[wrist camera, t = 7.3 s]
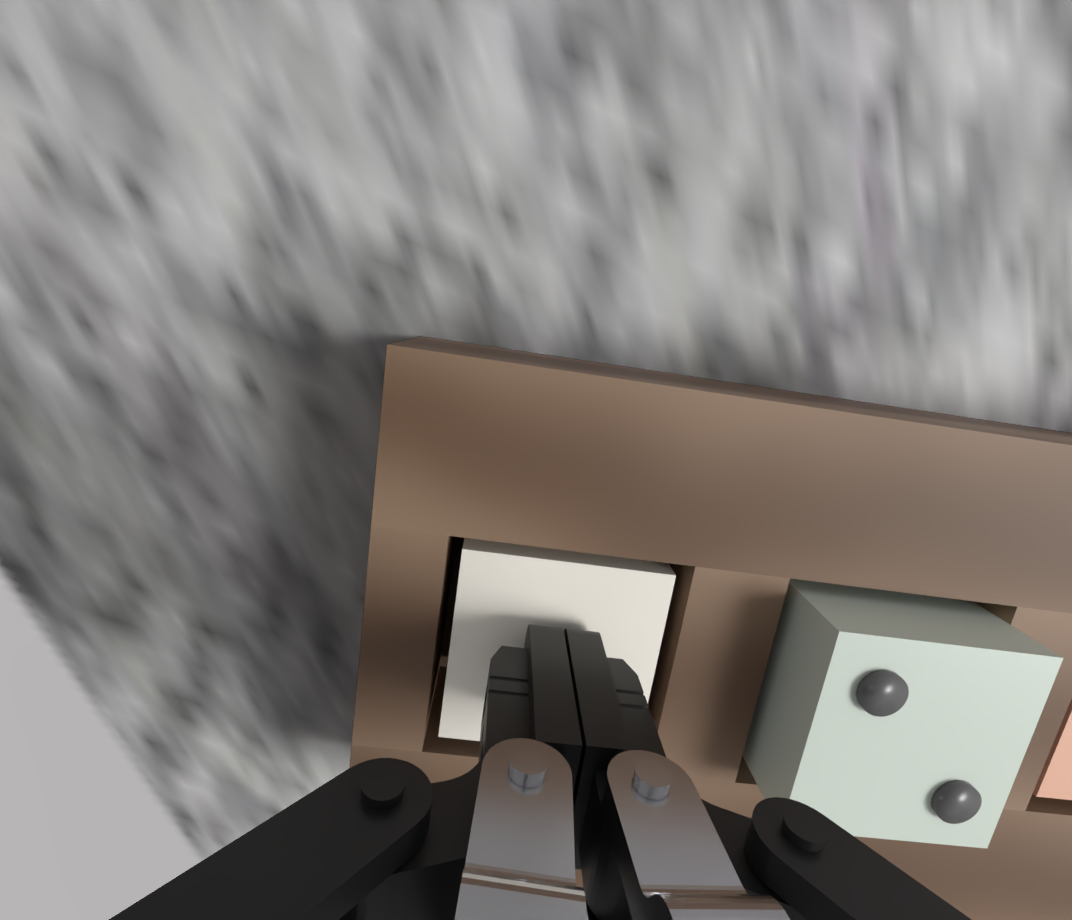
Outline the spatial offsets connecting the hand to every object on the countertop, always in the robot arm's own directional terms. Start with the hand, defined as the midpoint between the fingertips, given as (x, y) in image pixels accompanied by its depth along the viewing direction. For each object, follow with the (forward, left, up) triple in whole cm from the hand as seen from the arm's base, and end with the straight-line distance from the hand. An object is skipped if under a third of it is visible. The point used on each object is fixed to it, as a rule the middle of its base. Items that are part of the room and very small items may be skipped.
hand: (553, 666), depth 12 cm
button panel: (0, +7, -4) cm, 8 cm away
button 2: (0, +7, -2) cm, 7 cm away
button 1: (0, 0, -3) cm, 3 cm away
